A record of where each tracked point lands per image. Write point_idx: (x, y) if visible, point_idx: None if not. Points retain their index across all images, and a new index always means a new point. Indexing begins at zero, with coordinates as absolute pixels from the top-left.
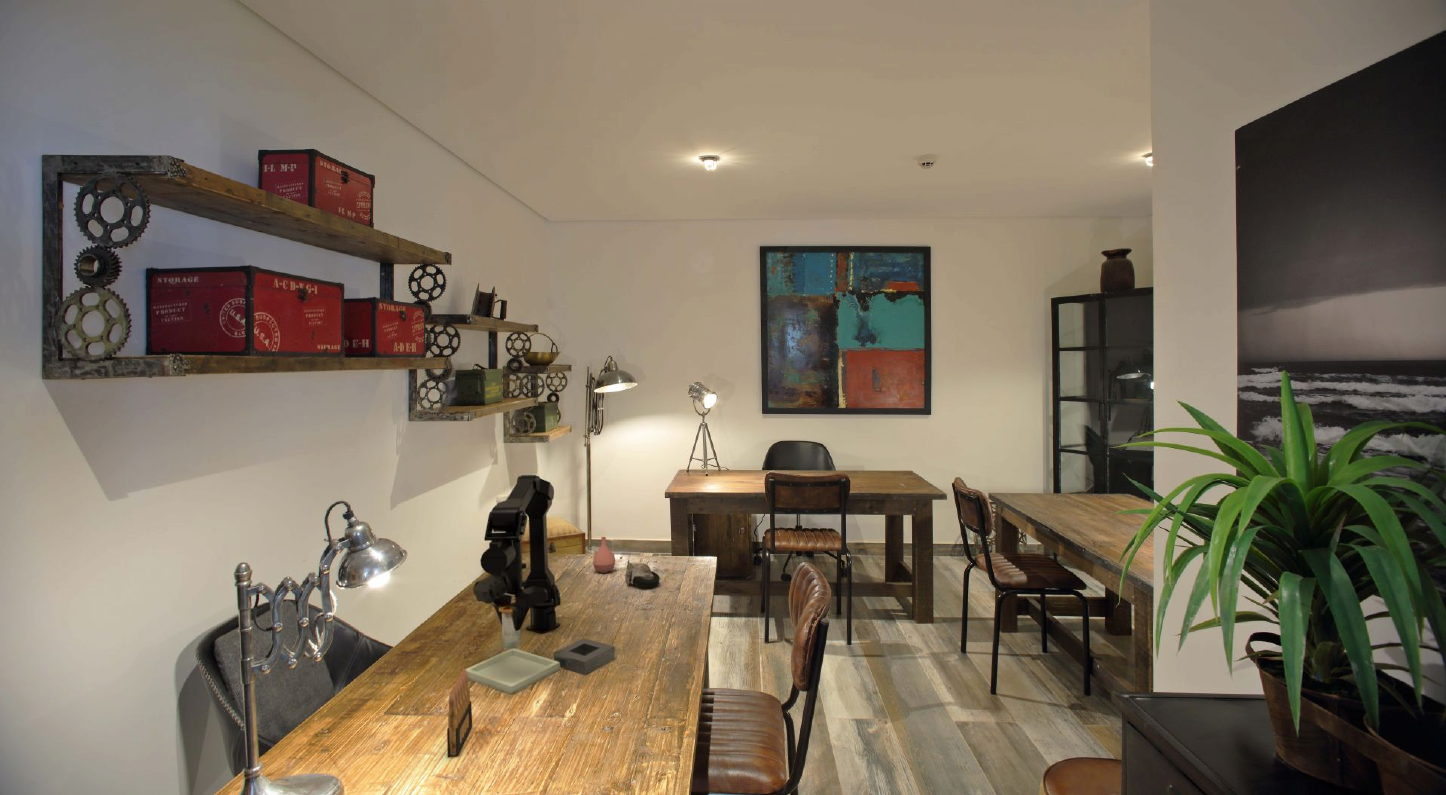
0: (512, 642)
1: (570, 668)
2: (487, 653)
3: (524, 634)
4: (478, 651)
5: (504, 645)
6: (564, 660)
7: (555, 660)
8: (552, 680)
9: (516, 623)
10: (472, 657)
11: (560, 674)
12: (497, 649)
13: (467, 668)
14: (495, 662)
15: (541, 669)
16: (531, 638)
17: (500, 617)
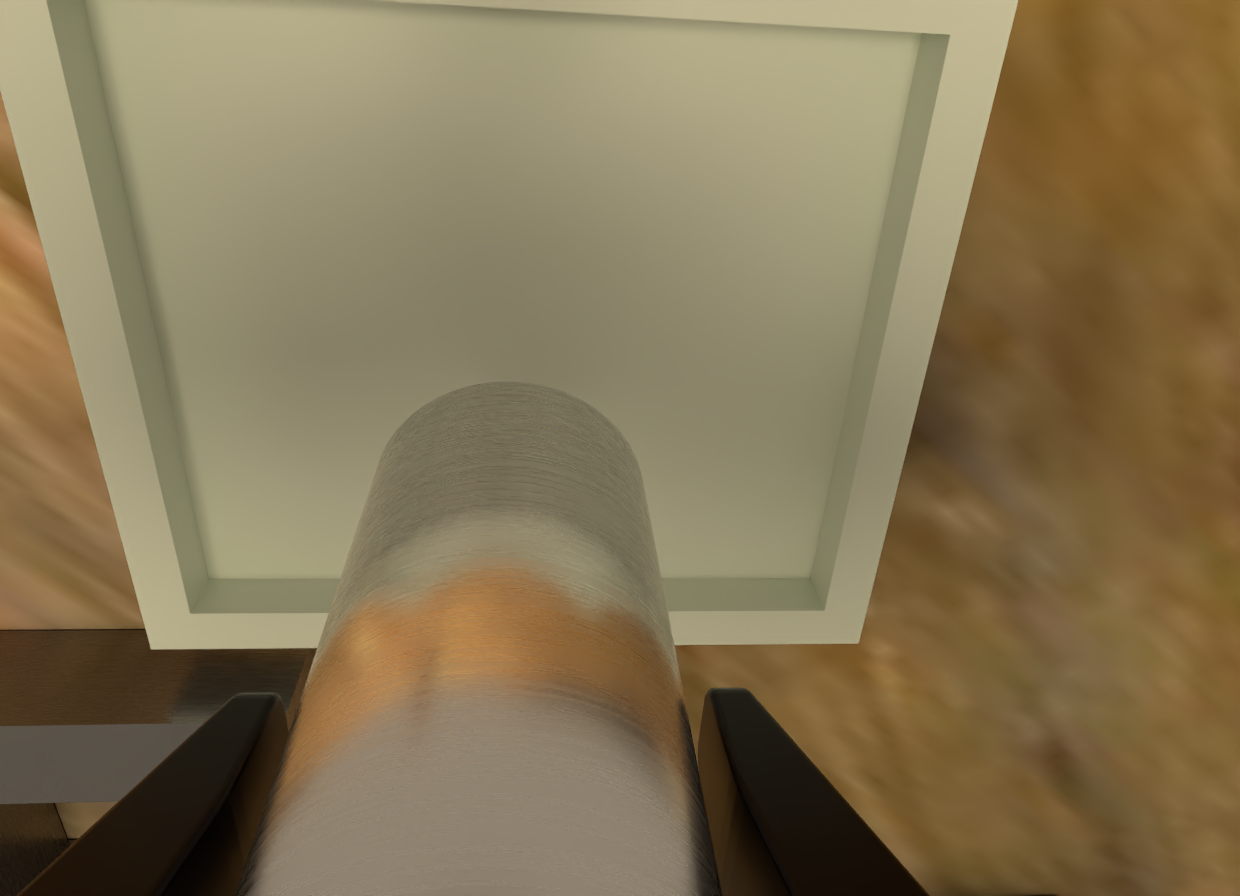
0: (372, 493)
1: (77, 644)
2: (1108, 514)
3: (1018, 848)
4: (1224, 502)
5: (522, 407)
6: (133, 688)
7: (277, 666)
8: (21, 423)
9: (76, 843)
10: (1208, 391)
11: (88, 542)
12: (1065, 604)
13: (1006, 34)
14: (850, 390)
15: (141, 460)
16: (913, 833)
17: (801, 864)
